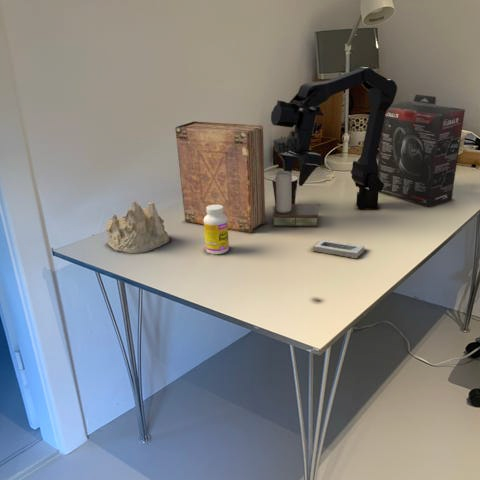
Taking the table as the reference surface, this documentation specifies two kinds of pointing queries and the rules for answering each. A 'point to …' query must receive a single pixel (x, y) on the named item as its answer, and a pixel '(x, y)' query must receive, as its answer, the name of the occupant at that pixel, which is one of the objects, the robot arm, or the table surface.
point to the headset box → (420, 150)
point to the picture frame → (339, 249)
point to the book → (222, 172)
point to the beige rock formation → (137, 230)
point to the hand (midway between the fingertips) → (293, 182)
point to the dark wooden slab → (298, 216)
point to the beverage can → (283, 191)
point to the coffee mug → (294, 188)
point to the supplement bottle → (216, 230)
